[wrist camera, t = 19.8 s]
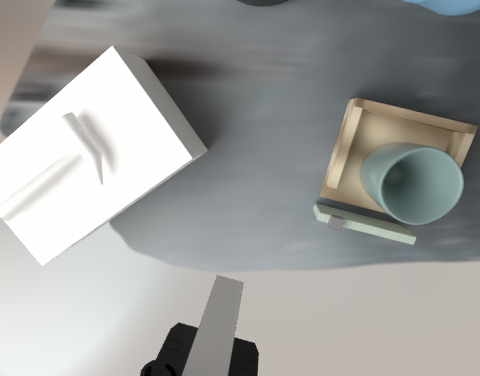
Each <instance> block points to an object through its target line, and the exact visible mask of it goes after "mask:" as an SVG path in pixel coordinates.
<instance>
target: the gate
mask: <svg viewBox="0 0 480 376" xmlns="http://www.w3.org/2000/svg"><path fill="white" fill-rule="evenodd" d="M313 211H314V213H315V215H316V217H317V220H319V221H323V222H327V223H328V226H329V228H332V229H336V230H340V231H341V228H342V227H346V228H350V229H354V230H358V231H361V232H365V233H369V234H373V235H377V236H381V237H385V238H389V239H392V240H396V241H400V242H404V243H408V244H412V245H414V242H415V240H416V237H415V236H414V235H413V234H412V233H410V232H409V231H408V230H407V229H405V228H404V227H403V226H402V225H400V224H396V223H392V222H388V221H384V220H380V219H376V218H372V217H369V216H365V215H361V214H357V213H353V212H349V211H345V210H341V209H337V208H333V207H329V206H325V205H322V204H318V203H315V205H314V208H313Z"/></svg>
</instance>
